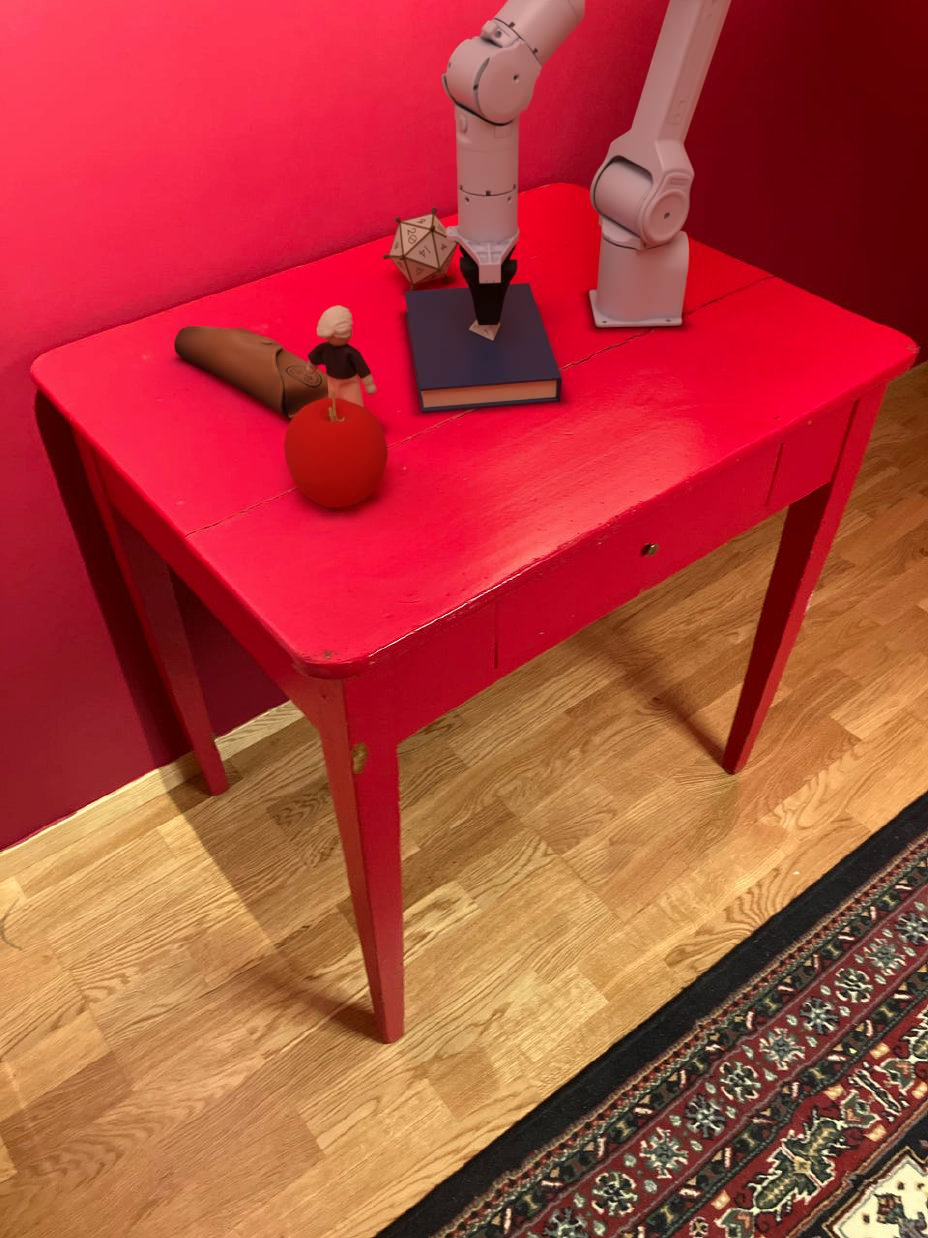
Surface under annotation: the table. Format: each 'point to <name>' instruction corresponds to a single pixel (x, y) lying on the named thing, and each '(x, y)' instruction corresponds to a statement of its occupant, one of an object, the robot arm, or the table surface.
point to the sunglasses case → (253, 366)
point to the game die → (422, 249)
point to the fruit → (335, 452)
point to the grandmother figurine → (340, 357)
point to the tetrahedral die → (485, 330)
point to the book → (479, 352)
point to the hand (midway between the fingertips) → (487, 316)
